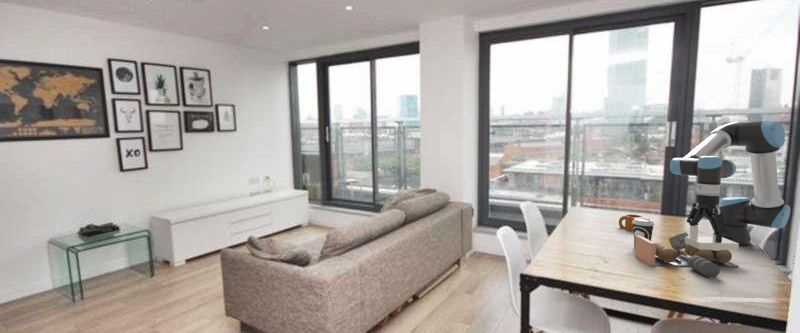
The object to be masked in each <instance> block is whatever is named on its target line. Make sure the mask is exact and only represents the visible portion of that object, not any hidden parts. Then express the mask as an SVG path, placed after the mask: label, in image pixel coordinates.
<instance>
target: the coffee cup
mask: <svg viewBox="0 0 800 333" xmlns="http://www.w3.org/2000/svg"><path fill="white" fill-rule="evenodd" d="M632 223H633V231H632V232H633V246H634V249H635V243H636V235H640V236H642V237H644V238H646V239H648V240H650V241H652V236H653V230H654V226H655V221H654V220H653V219H651V218H648V217H643V218H634V220H633V221H632Z"/></svg>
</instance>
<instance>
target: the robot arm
mask: <svg viewBox="0 0 800 333" xmlns="http://www.w3.org/2000/svg"><path fill="white" fill-rule="evenodd" d="M785 138H786V132H785V128H784V127H783V125H782V123H780V122H779V121H774V120H755V121H751V120H750V121H746V120H745V121H732V122H729V123H726V124H724V125H721V126H719V127H717V128H715V129H714V130H712V131H711V132H709V134H708V135H707V137H706V138H705V140H704V141H702V142H701V143H699V145H697V146H696V147H695V148H693V149H692V150H690V152H689V153H688V154H686V155H685V156H684V157H674V158H672V159H671V160H670V163H669V169H670V172H671V173H672V174H673V175H680V176H690V177H696V178H697V179H696V194H695V202H692V207H691V210H690V212H689V214H688V217H687V219H686V224H687V223H688V225H689V226H690V228H689V237H690V241H697V240H698V237H699V223H700V221H702V219H703V218H706V219H707V220H709V224H710V225H711V227H712V230H713V233H712V237H713V242H712V250H714V251H721V242H722V237H723V238H726V239H728V240H731V241H733V242H736V243H739V246H749V245H751V243H752V238H751V235H750V233H749V230H748V225H752V226H757V227H758V226H759V227H765V228H770V229H783V228H785V227H786V225H787V224H788V222H789V218H790V215H791V207H790V205H787V204H785V201H784V199H783V198H781V197H780V192H779V180H778V178H779V177H778V168H777V167H778V166H777V155H776V154H777V152H778V151H780V149H781V147H783V146H784V144H785V141H786V139H785ZM729 147H745V151H746V152H747V153H748V154H749V155H750V160H751V172H752V182H753V192H754V193H753V194H754V197H753V198H751V199H750V197H747V196H730V197H729V196H728V197H723V198H720V197H721V196H720V194H721V182H722V181H721V180H722V179H727V178H729V177H732V176H734V175H735V173H736V172H737V171H736V170H737V166H736V164H735V162H733V161H731V160H728V159H723V158H722V157H721V156H718V155H717V154H718V153H719V152H720V151H721V150H724V149H727V148H729ZM716 155H717V156H716ZM717 205H718V208H717Z"/></svg>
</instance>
